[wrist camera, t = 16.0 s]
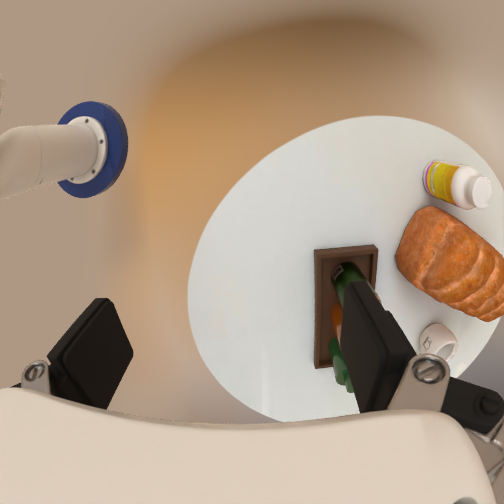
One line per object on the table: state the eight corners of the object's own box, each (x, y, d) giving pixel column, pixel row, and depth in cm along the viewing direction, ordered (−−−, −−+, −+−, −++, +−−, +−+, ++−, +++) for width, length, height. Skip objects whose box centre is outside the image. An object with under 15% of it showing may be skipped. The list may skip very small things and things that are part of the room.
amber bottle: (329, 325, 48) (342, 370, 37) (330, 302, 47) (345, 346, 35) (355, 322, 48) (373, 365, 37) (357, 299, 46) (378, 341, 35)
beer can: (323, 281, 45) (339, 323, 34) (339, 254, 43) (362, 291, 32) (348, 292, 46) (369, 334, 34) (364, 267, 44) (391, 304, 33)
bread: (464, 301, 46) (499, 341, 32) (385, 265, 44) (425, 314, 30) (492, 249, 41) (535, 280, 27) (419, 195, 39) (475, 221, 25)
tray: (313, 362, 53) (315, 369, 51) (313, 249, 44) (316, 254, 42) (361, 355, 52) (363, 361, 50) (373, 244, 43) (378, 248, 41)
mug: (429, 314, 48) (446, 336, 40) (450, 322, 49) (465, 342, 41) (399, 355, 52) (411, 378, 45) (421, 360, 53) (433, 381, 46)
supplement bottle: (422, 198, 39) (467, 219, 27) (420, 160, 37) (466, 169, 25) (449, 195, 38) (495, 213, 26) (448, 159, 36) (495, 168, 24)
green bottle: (327, 355, 51) (337, 399, 40) (328, 336, 49) (340, 381, 38) (351, 351, 51) (365, 394, 40) (353, 333, 49) (370, 376, 38)
